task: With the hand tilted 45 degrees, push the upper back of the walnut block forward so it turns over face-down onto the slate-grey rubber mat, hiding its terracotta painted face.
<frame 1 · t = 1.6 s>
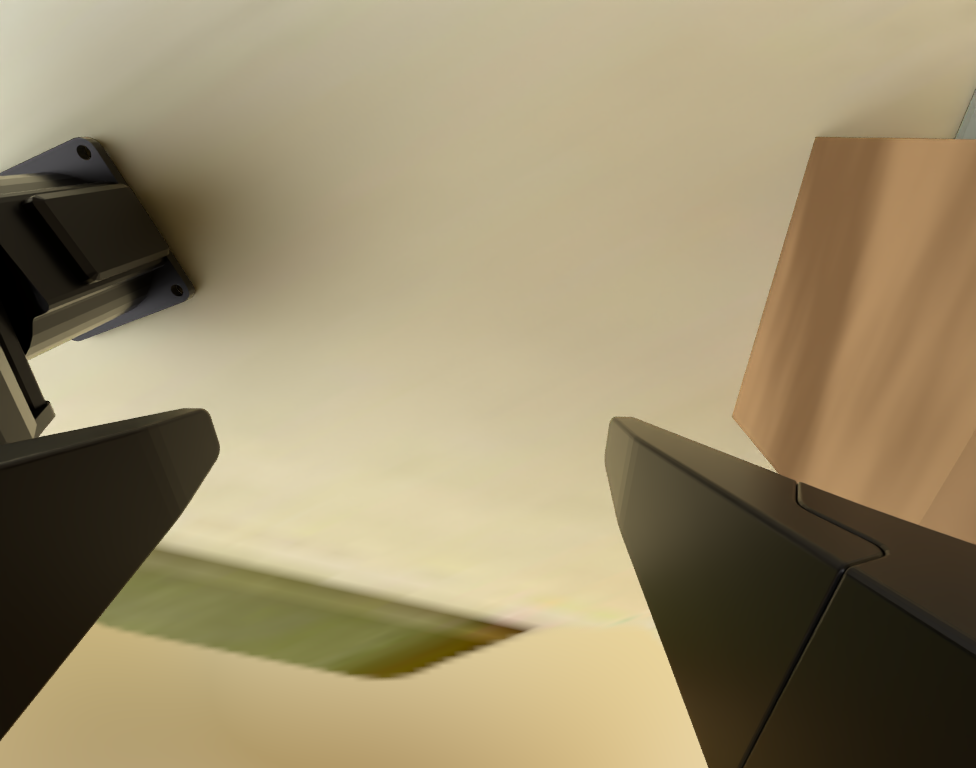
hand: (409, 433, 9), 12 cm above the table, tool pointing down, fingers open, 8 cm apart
walnut block: (814, 297, 20), on the table
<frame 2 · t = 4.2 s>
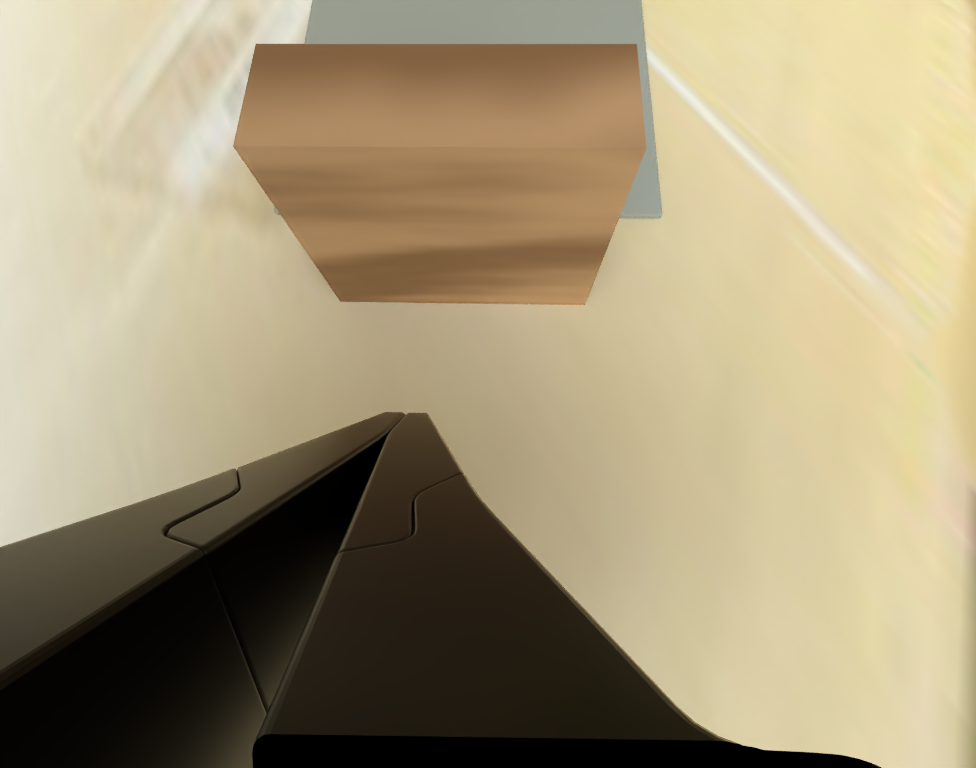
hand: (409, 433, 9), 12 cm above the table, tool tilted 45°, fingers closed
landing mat: (471, 96, 27), on the table
walnut block: (463, 267, 24), on the table
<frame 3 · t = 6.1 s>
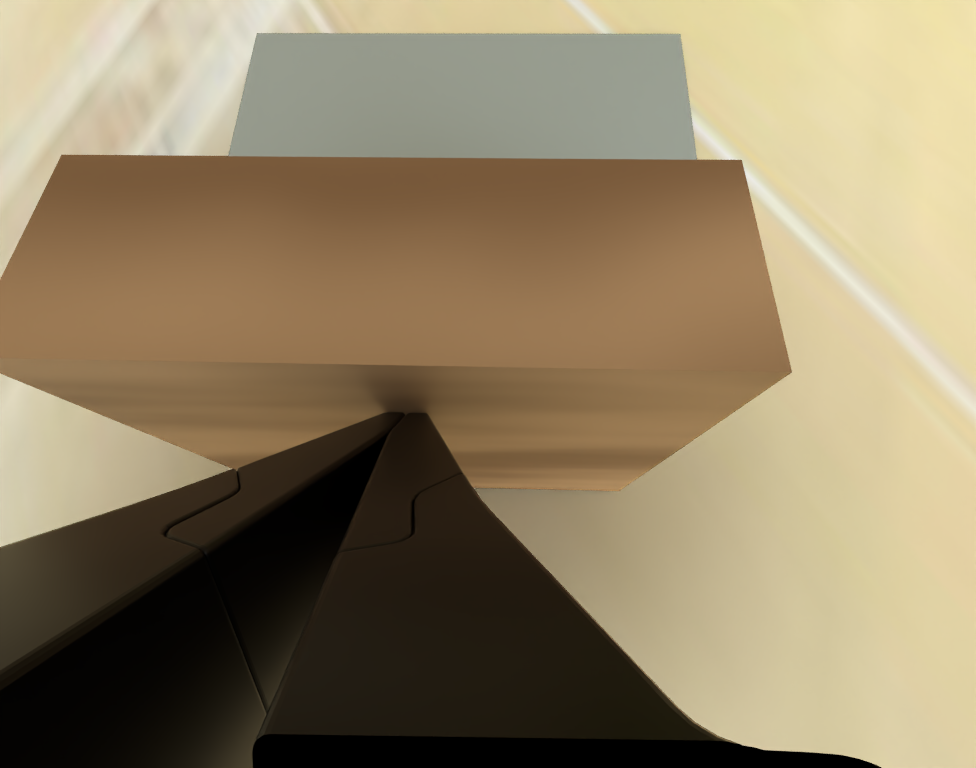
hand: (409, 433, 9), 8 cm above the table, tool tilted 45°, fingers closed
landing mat: (459, 177, 20), on the table
walnut block: (445, 430, 17), on the table
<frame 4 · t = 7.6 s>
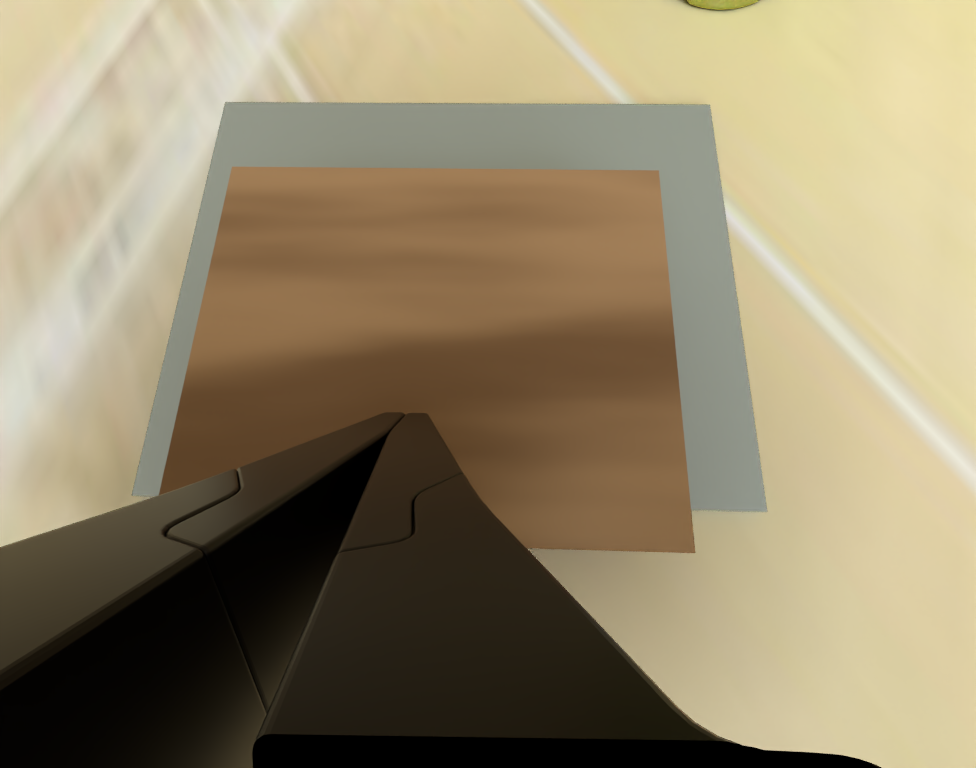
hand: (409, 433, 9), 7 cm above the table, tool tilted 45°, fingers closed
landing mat: (456, 280, 17), on the table
walnut block: (430, 542, 12), point 3 cm above the table, tilted 90°, touching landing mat
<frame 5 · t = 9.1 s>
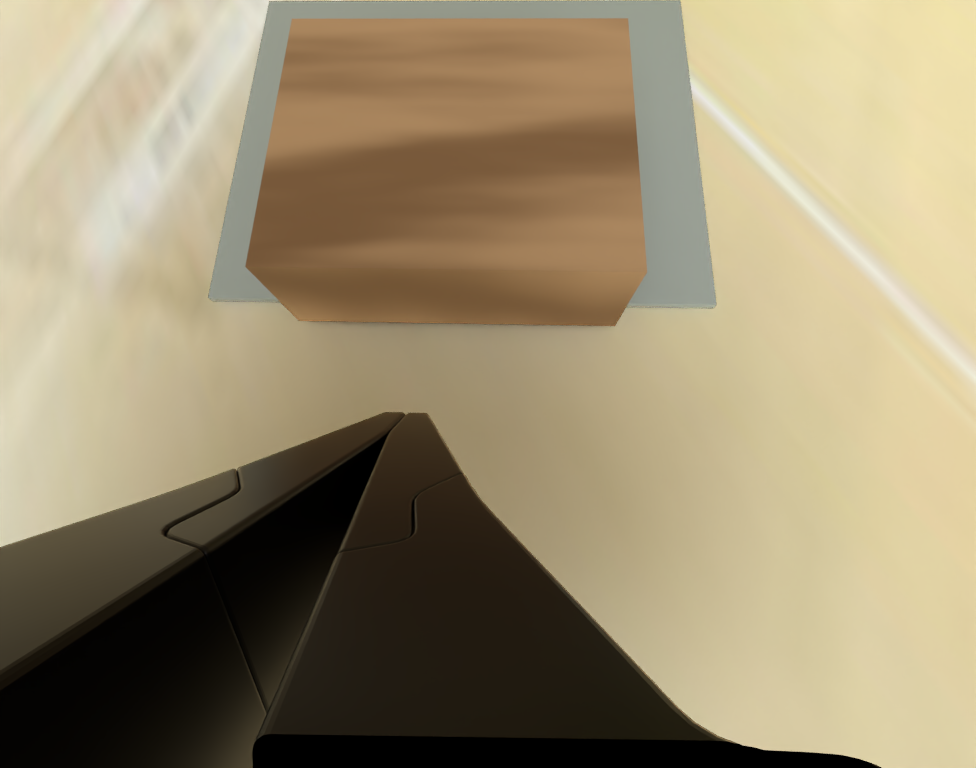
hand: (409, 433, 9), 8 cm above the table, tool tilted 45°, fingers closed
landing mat: (466, 140, 21), on the table
walnut block: (450, 299, 16), point 3 cm above the table, tilted 90°, touching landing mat
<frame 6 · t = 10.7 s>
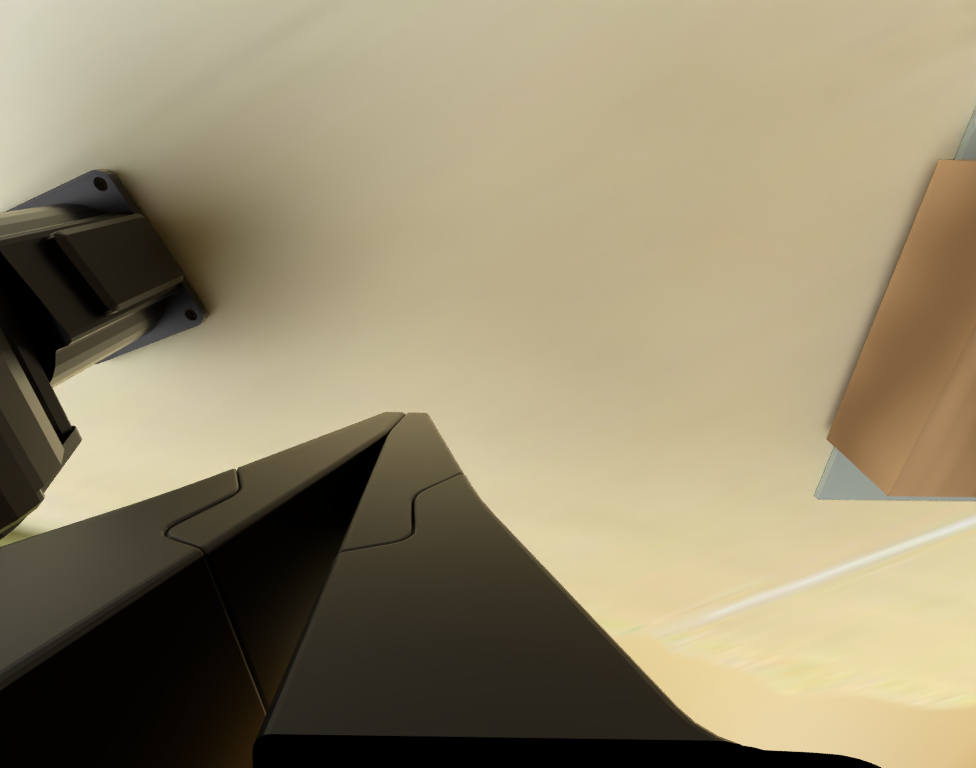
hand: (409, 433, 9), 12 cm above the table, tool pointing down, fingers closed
walnut block: (911, 337, 18), point 3 cm above the table, tilted 90°, touching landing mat
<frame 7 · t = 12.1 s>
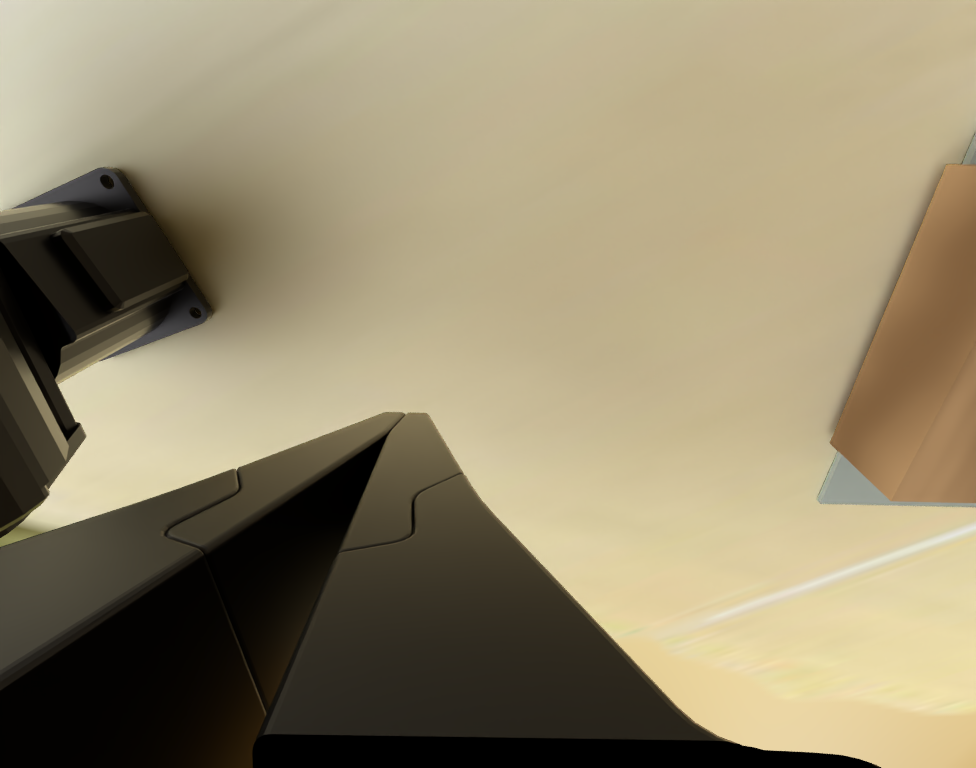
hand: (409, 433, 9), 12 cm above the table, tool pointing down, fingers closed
walnut block: (917, 342, 18), point 3 cm above the table, tilted 90°, touching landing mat
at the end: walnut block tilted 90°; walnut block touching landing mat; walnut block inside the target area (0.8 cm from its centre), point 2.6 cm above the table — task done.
